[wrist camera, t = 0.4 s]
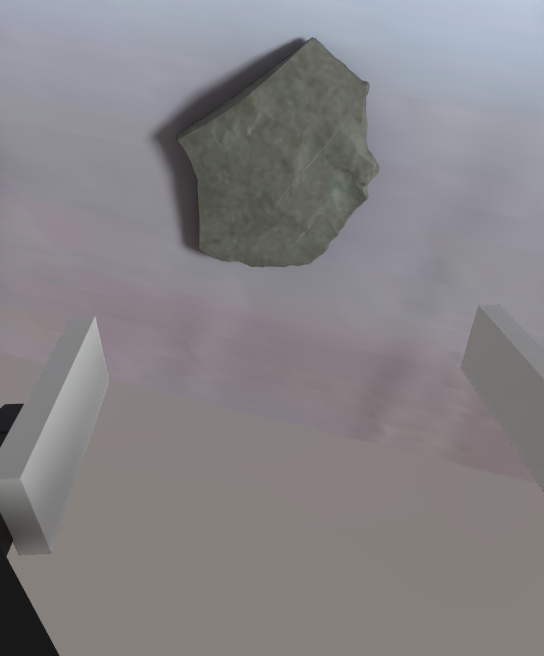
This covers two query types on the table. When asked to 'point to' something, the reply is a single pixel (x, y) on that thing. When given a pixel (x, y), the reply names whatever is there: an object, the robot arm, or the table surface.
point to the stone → (282, 162)
